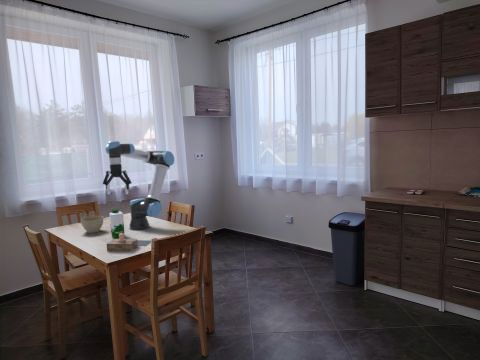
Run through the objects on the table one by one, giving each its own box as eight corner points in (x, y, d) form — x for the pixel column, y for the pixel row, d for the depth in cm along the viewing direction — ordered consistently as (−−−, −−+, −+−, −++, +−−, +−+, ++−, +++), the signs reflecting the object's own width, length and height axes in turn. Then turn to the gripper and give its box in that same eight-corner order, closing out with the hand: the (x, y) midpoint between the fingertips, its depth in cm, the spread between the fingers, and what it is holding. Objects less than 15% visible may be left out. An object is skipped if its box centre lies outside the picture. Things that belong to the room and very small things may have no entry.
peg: (121, 248, 218) (120, 233, 217) (125, 248, 217) (124, 233, 216) (119, 249, 215) (118, 234, 214) (123, 249, 214) (122, 234, 213)
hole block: (115, 246, 222) (114, 238, 222) (137, 246, 220) (137, 239, 219) (107, 251, 213) (106, 243, 212) (130, 251, 210) (129, 244, 209)
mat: (137, 240, 232) (137, 240, 232) (153, 241, 231) (153, 240, 231) (129, 246, 221) (129, 245, 221) (146, 246, 219) (146, 246, 219)
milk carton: (122, 234, 250) (120, 208, 247) (126, 237, 242) (124, 210, 240) (110, 236, 244) (108, 210, 242) (113, 239, 237) (111, 212, 235)
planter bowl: (96, 234, 251) (95, 220, 250) (77, 234, 254) (76, 220, 253) (108, 229, 267) (107, 215, 265) (90, 228, 270) (89, 215, 269)
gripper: (95, 164, 228) (98, 195, 231) (129, 163, 224) (132, 195, 227) (101, 163, 235) (104, 193, 238) (135, 162, 231) (137, 193, 234)
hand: (118, 194), depth 232 cm, fingers open, 13 cm apart
